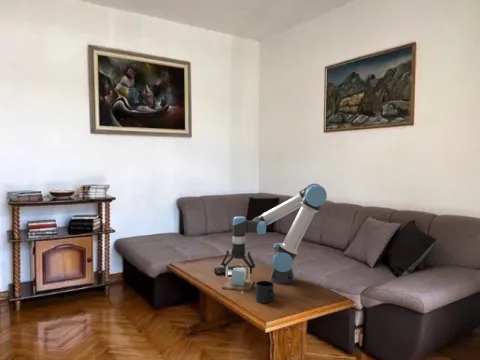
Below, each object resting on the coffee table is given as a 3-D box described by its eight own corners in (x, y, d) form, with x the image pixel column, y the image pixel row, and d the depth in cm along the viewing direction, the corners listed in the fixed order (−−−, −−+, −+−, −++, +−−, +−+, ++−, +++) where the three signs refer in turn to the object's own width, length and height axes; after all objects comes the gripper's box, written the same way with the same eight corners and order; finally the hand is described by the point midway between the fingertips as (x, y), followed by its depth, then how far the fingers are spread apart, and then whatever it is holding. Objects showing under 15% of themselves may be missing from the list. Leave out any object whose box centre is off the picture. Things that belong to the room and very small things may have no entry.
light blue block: (245, 281, 224) (245, 267, 224) (243, 285, 218) (243, 271, 217) (233, 281, 226) (233, 267, 225) (231, 284, 219) (231, 270, 218)
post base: (253, 281, 228) (253, 270, 228) (249, 290, 212) (249, 278, 212) (228, 280, 231) (228, 268, 231) (222, 288, 215) (222, 276, 215)
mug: (267, 306, 190) (268, 289, 189) (251, 299, 199) (252, 283, 198) (280, 302, 196) (280, 285, 196) (264, 295, 205) (264, 279, 205)
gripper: (260, 242, 222) (259, 277, 223) (219, 239, 226) (218, 274, 227) (258, 245, 214) (257, 282, 216) (216, 242, 219) (215, 278, 220)
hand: (237, 278), depth 221 cm, fingers open, 13 cm apart
